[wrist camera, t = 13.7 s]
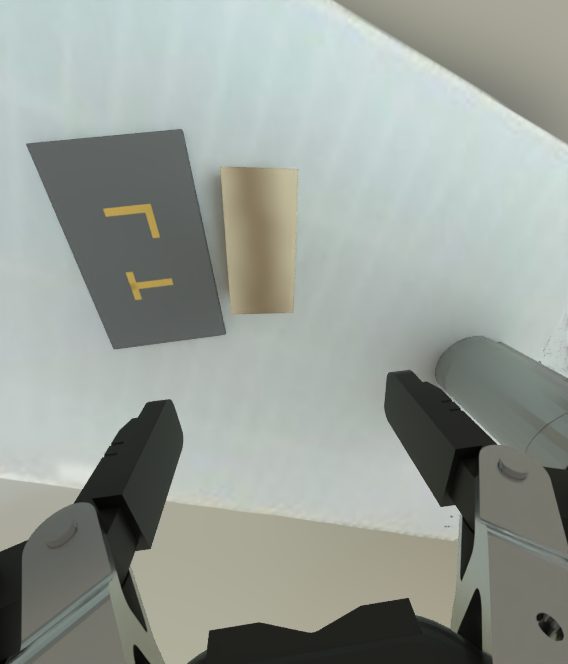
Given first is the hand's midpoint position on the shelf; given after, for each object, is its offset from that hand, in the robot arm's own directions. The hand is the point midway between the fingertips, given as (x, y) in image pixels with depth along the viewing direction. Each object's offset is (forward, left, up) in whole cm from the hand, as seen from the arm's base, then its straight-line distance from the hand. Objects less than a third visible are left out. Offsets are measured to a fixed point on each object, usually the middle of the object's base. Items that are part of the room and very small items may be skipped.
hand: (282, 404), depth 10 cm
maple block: (0, -3, -22) cm, 23 cm away
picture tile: (+12, -3, -22) cm, 25 cm away
